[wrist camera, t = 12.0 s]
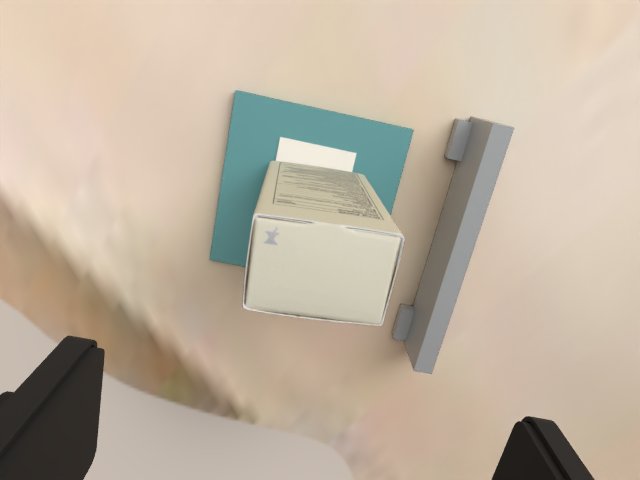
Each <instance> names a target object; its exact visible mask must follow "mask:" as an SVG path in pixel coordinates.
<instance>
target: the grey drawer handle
mask: <svg viewBox="0 0 640 480" xmlns="http://www.w3.org/2000/svg"><path fill="white" fill-rule="evenodd" d="M513 130H514V128H513V127H510V126H506V125H503V124H499V123H495V122H492V121H488V120H484V119H479V118H475V117H471V118H470V121H465V120H461V119H455V122H454V125H453V129H452V132H451V136H450V139H449V142H448V146H447V149H446V152H445V157H446V158H448V159H453V160H457V164H456V167H455V170H454V173H453V177H452V180H451V183H450V186H449V190H448V193H447V196H446V200H445V203H444V206H443V209H442V213H441V216H440V219H439V222H438V226H437V229H436V232H435V236H434V239H433V242H432V245H431V249H430V252H429V255H428V258H427V262H426V265H425V268H424V271H423V275H422V278H421V281H420V285H419V288H418V291H417V294H416V298H415V301H414V304H413V306H410V305H405V304H400V308H399V311H398V314H397V318H396V321H395V324H394V328H393V331H392V335H393V338H394V339H397V340H402V341H404V344H405V347H406V350H407V353H408V356H409V358H410V361H411V364H412V367H413V370H414V371H417V372H423V373H428V374H432V371H433V368H434V365H435V362H436V359H437V356H438V353H439V350H440V348H441V345H442V342H443V339H444V336H445V333H446V330H447V327H448V324H449V321H450V318H451V315H452V312H453V309H454V306H455V303H456V300H457V297H458V294H459V291H460V288H461V285H462V282H463V279H464V276H465V273H466V270H467V267H468V264H469V261H470V258H471V255H472V252H473V249H474V246H475V243H476V240H477V237H478V234H479V231H480V228H481V225H482V222H483V219H484V217H485V214H486V211H487V208H488V205H489V202H490V199H491V196H492V193H493V190H494V187H495V184H496V181H497V178H498V175H499V172H500V169H501V166H502V163H503V160H504V157H505V154H506V151H507V148H508V145H509V142H510V139H511V136H512V133H513Z"/></svg>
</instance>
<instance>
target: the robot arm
mask: <svg viewBox="0 0 640 480" xmlns="http://www.w3.org/2000/svg"><path fill="white" fill-rule="evenodd" d="M103 366H104V349H102V348H97V342H96V341H95V340H91V339H85V338H80V337H74V336H67V337H65V338H64V339H63V340H62V341H61V342H60V344H59V345H58V346H57V347H56V348H55V349H54V350H53V351H52V352H51V353H50V354H49V355H48V356H47V358H46V359H45V360H44V361H43V362H42V363H41V364H40V365H39V366H38V367H37V368H36V369H35V370H34V371H33V373H32V374H31V375H30V376H29V377H28V378H27V379H26V380H25V381H24V382H23V383H22V384H21V386H20V387H19V388H18V389H17V390H16V391H15V392H8V391H7V392H5V393H2V394H1V395H0V480H83V479H84V477H85V475H86V473H87V472H88V470H89V468H90V466H91V464H92V462H93V459H94V456H95V452H96V448H97V437H98V425H99V413H100V401H101V389H102V378H103ZM492 480H594V478H593V477H592V475H591V474H590V473H589V471H588V470H587V468H586V467H585V465H584V464H583V462H582V461H581V460H580V458H579V457H578V455H577V454H576V452H575V451H574V449H573V448H572V446H571V445H570V444H569V442H568V441H567V439H566V438H565V436H564V435H563V433H562V432H561V431H560V429H559V428H558V426H557V425H556V424H555V423H554V422H553V421H551V420H546V419H541V418H535V417H529V416H528V417H525V418H524V419H523V420H522V421H521V422H520V421H519V422H517V423H516V424H515V425H514V427H513V430H512V432H511V434H510V437H509V439H508V442H507V444H506V446H505V449H504V451H503V454H502V456H501V458H500V461H499V463H498V466H497V468H496V470H495V473H494V475H493V478H492Z"/></svg>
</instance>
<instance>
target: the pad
mask: <svg viewBox="0 0 640 480" xmlns="http://www.w3.org/2000/svg"><path fill="white" fill-rule="evenodd" d="M412 134H413V130H412V129H409V128H405V127H400V126H396V125H391V124H387V123H382V122H378V121H373V120H368V119H364V118H359V117H355V116H350V115H346V114H341V113H337V112H332V111H328V110H323V109H319V108H314V107H310V106H305V105H301V104H296V103H292V102H287V101H283V100H278V99H274V98H269V97H265V96H260V95H256V94H251V93H247V92H242V91H238V90H236V91H235V97H234V104H233V110H232V117H231V123H230V130H229V136H228V143H227V149H226V156H225V162H224V169H223V175H222V182H221V188H220V195H219V201H218V208H217V214H216V221H215V227H214V234H213V240H212V247H211V253H210V260H213V261H218V262H224V263H229V264H234V265H239V266H244V267H246V260H247V253H248V246H249V239H250V232H251V226H252V219H253V214H254V211H255V208H256V205H257V202H258V199H259V196H260V192H261V189H262V186H263V182H264V179H265V176H266V173H267V170H268V166H269V163H270V161H280V162H289V163H297V164H305V165H311V166H318V167H325V168H331V169H337V170H343V171H349V172H354V173H359V174H363V175H364V176H365V177H366V178H367V180H368V182H369V183H370V185H371V186H372V188H373V189H374V191H375V192H376V194H377V196H378V197H379V199H380V200H381V202H382V203H383V205H384V206H385V208H386V210H387V211H388V213H389V214H390V215H391V211H392V208H393V204H394V200H395V197H396V193H397V189H398V185H399V182H400V178H401V174H402V171H403V167H404V163H405V160H406V156H407V152H408V149H409V145H410V141H411V138H412Z"/></svg>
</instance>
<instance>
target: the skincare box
mask: <svg viewBox="0 0 640 480" xmlns="http://www.w3.org/2000/svg"><path fill="white" fill-rule="evenodd" d="M404 241H405V238H404V236H403V234H402V233H401V231H400V230H399V228H398V227H397V225H396V224H395V222H394V221H393V219H392V217H391V216H390V214H389V213H388V211H387V210H386V208H385V206H384V205H383V203H382V202H381V200H380V199H379V197H378V196H377V194H376V192H375V191H374V189H373V188H372V186H371V185H370V183H369V182H368V180H367V178H366V177H365V176H364V175H363V174H359V173H354V172H349V171H343V170H337V169H331V168H325V167H318V166H311V165H305V164H297V163H289V162H280V161H270V163H269V166H268V170H267V173H266V176H265V179H264V182H263V186H262V189H261V192H260V196H259V199H258V202H257V205H256V208H255V211H254V214H253V219H252V226H251V232H250V239H249V246H248V253H247V260H246V268H245V277H244V287H243V300H242V306H243V308H244V309H247V310H252V311H257V312H263V313H269V314H275V315H282V316H288V317H297V318H305V319H313V320H322V321H330V322H340V323H350V324H360V325H372V326H381V325H382V324H383V322H384V318H385V314H386V310H387V307H388V304H389V300H390V296H391V293H392V289H393V285H394V282H395V278H396V274H397V270H398V267H399V262H400V258H401V254H402V250H403V246H404Z"/></svg>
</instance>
